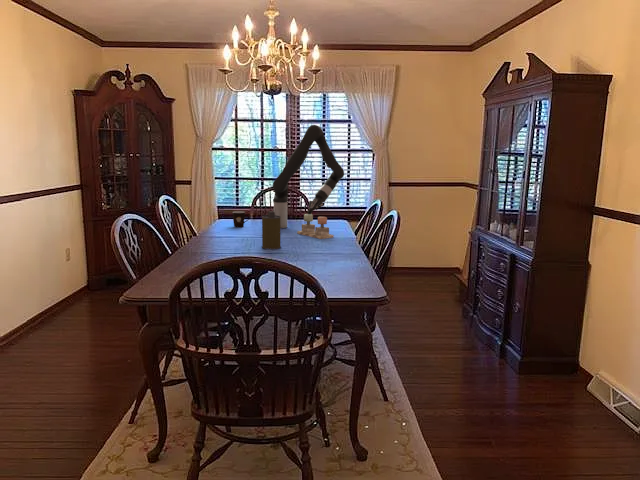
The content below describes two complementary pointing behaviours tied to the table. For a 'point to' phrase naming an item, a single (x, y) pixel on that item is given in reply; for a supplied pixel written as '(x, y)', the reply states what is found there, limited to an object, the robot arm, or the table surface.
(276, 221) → the canister
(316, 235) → the button board
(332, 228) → the table surface
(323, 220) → the brown rounded piece
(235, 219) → the coffee mug
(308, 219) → the pale green rounded knob
